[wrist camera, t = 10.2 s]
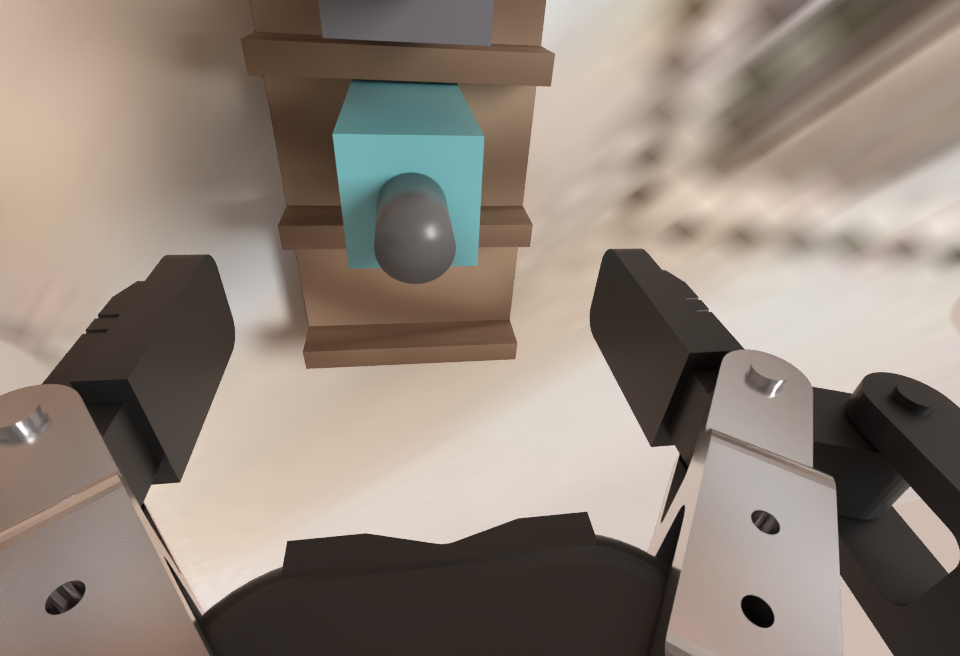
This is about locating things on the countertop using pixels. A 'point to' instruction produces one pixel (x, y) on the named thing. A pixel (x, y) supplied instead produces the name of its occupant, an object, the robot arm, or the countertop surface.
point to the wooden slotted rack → (316, 198)
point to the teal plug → (409, 178)
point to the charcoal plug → (409, 20)
